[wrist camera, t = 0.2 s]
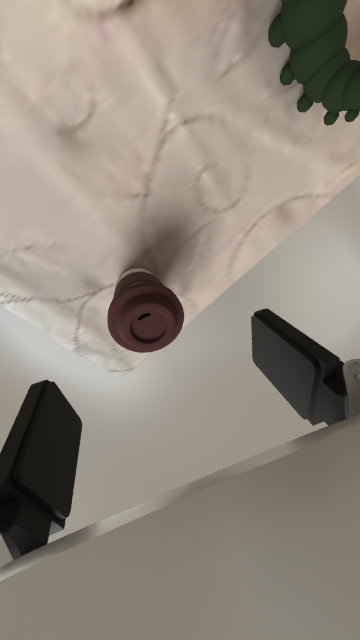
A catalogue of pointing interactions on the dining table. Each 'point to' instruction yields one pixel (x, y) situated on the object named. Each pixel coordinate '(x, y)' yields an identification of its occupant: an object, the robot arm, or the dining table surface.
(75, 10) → the dining table surface
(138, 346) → the coffee cup
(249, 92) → the dining table surface
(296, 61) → the toy figurine
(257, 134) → the dining table surface
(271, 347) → the robot arm
